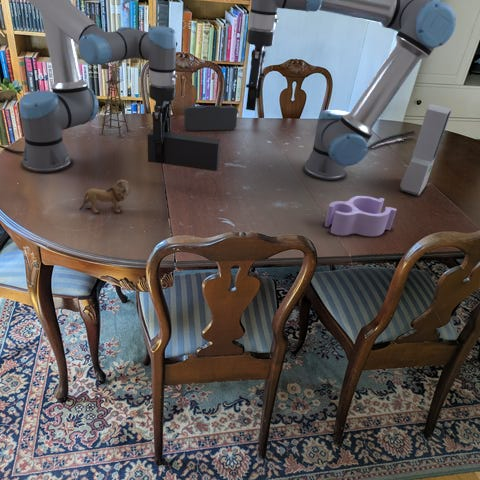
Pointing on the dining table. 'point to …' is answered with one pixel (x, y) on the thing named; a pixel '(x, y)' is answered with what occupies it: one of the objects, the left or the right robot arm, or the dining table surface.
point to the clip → (359, 216)
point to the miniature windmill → (112, 82)
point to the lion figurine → (107, 195)
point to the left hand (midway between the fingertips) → (162, 158)
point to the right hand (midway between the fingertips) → (252, 103)
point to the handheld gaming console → (210, 118)
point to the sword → (389, 142)
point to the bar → (187, 151)
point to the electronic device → (425, 149)
